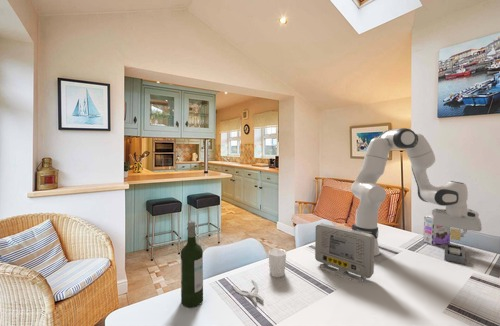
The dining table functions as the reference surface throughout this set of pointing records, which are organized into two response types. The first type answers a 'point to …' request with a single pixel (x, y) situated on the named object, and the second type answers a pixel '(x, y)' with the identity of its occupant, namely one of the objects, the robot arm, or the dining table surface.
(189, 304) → the wine bottle
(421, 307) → the dining table surface
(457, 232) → the tan wooden toy cube
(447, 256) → the grey cube holder tray
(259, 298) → the pliers
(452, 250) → the cube in holder slot
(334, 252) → the network device
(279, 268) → the white cup
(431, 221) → the candy box
